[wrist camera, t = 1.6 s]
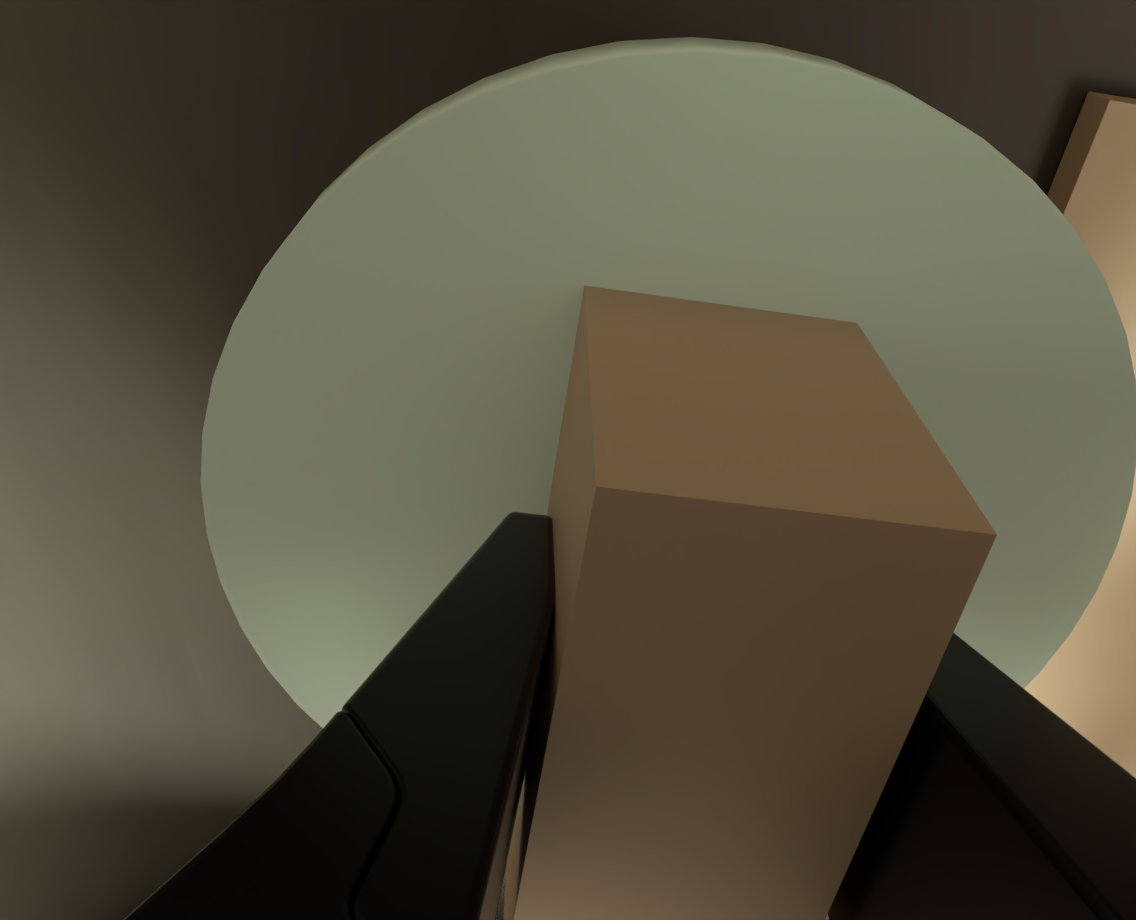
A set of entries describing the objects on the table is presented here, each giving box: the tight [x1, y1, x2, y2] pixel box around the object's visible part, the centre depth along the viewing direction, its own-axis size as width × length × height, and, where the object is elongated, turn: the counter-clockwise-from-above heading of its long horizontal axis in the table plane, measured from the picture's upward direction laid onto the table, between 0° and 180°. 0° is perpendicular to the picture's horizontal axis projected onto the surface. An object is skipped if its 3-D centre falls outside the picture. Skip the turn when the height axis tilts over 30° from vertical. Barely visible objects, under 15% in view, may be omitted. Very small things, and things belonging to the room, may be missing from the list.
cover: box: [201, 37, 1136, 920], centre depth 9 cm, size 9×9×4 cm
